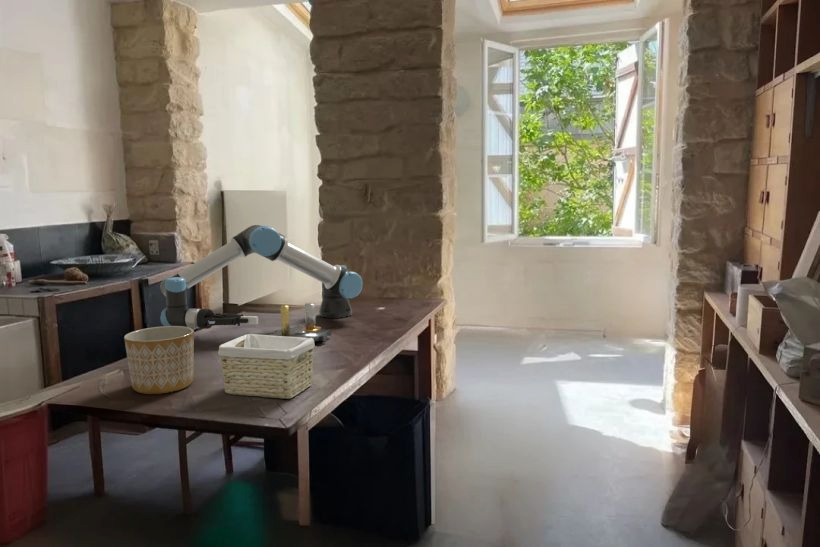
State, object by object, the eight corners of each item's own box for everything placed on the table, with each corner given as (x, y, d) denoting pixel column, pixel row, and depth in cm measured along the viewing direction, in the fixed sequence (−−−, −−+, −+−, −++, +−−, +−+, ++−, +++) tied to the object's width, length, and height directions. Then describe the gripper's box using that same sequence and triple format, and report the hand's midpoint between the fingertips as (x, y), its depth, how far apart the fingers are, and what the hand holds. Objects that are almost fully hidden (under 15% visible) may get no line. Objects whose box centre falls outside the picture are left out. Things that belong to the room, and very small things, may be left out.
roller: (315, 327, 249) (314, 302, 248) (316, 329, 245) (315, 304, 244) (304, 328, 248) (304, 303, 247) (306, 330, 244) (305, 305, 243)
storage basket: (218, 394, 180) (215, 345, 178) (249, 378, 195) (246, 332, 193) (291, 402, 172) (289, 350, 170) (318, 385, 188) (316, 337, 185)
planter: (195, 393, 181) (192, 337, 179) (123, 400, 176) (119, 343, 174) (198, 374, 200) (195, 324, 197) (133, 380, 194) (129, 328, 192)
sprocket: (325, 328, 256) (324, 295, 254) (336, 341, 234) (334, 305, 232) (267, 333, 249) (266, 299, 247) (273, 347, 227) (271, 310, 225)
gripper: (209, 324, 247) (265, 326, 242) (192, 332, 235) (250, 334, 230) (208, 305, 246) (264, 307, 241) (190, 312, 234) (249, 314, 229)
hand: (257, 320), depth 236 cm, fingers closed
